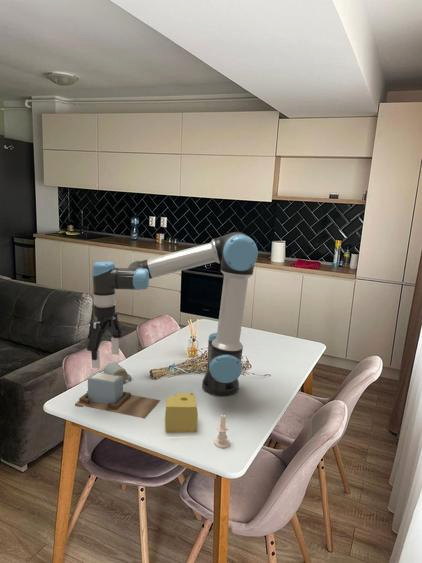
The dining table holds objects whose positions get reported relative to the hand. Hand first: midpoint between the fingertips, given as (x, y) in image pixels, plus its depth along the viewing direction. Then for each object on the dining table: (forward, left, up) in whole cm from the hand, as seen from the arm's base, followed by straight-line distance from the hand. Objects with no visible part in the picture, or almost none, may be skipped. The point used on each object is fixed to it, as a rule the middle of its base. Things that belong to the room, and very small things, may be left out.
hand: (106, 360), depth 156 cm
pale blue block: (0, 0, -16) cm, 16 cm away
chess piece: (-48, +11, -16) cm, 52 cm away
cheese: (-32, +6, -17) cm, 37 cm away
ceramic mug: (+4, -17, -17) cm, 24 cm away
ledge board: (-5, 0, -16) cm, 17 cm away
